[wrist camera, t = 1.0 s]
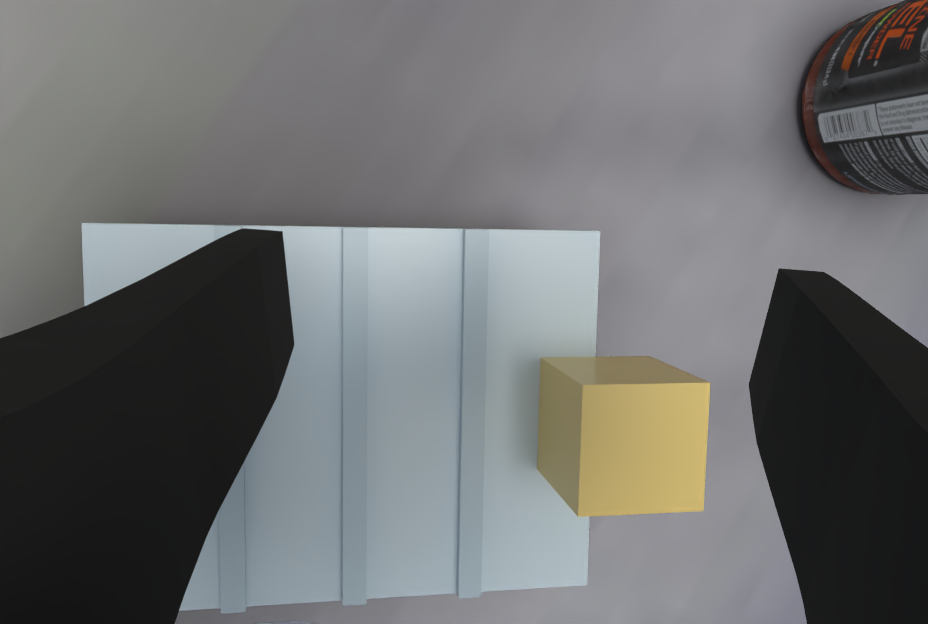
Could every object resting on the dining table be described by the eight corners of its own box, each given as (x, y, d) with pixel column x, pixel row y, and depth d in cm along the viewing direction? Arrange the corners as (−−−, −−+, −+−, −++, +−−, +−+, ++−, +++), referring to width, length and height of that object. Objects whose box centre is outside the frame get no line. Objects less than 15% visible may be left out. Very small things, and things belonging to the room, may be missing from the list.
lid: (628, 569, 24) (696, 646, 20) (103, 600, 21) (51, 697, 17) (643, 230, 23) (718, 235, 18) (90, 222, 20) (31, 225, 16)
